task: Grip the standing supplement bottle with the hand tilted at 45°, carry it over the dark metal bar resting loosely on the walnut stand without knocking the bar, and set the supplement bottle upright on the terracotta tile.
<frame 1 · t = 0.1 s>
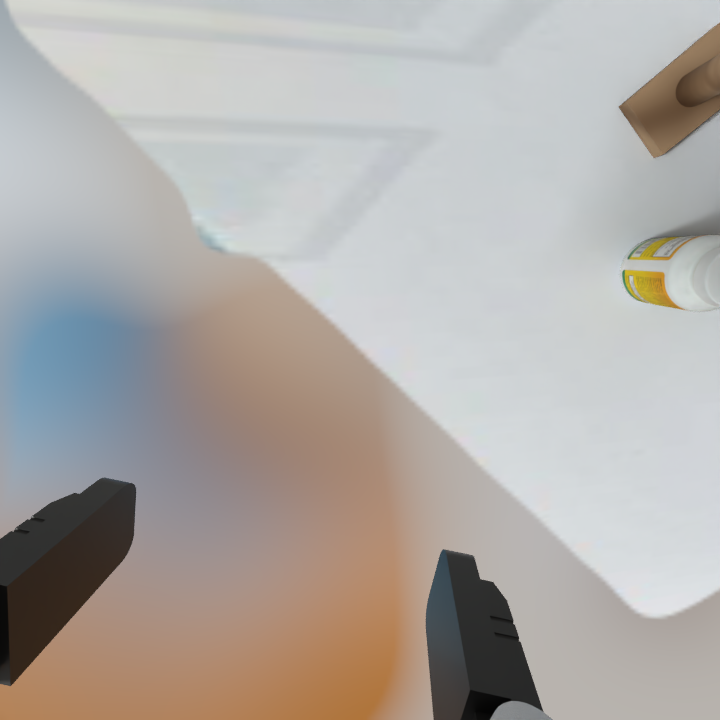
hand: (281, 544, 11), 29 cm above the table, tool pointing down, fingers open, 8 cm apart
supplement bottle: (648, 271, 36), on the table
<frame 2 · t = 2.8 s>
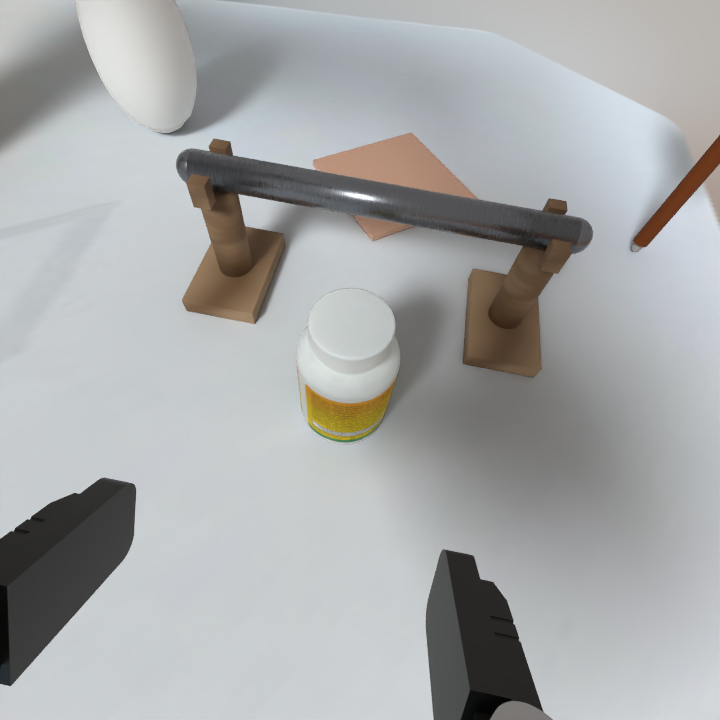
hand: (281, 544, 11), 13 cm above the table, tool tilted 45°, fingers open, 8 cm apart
hurdle stand: (367, 300, 32), on the table
white air blower bulb: (168, 129, 41), on the table
tile: (393, 184, 39), on the table
magnifying glass: (631, 252, 37), on the table
supplement bottle: (343, 408, 28), on the table
bar: (380, 201, 24), point 9 cm above the table, touching hurdle stand
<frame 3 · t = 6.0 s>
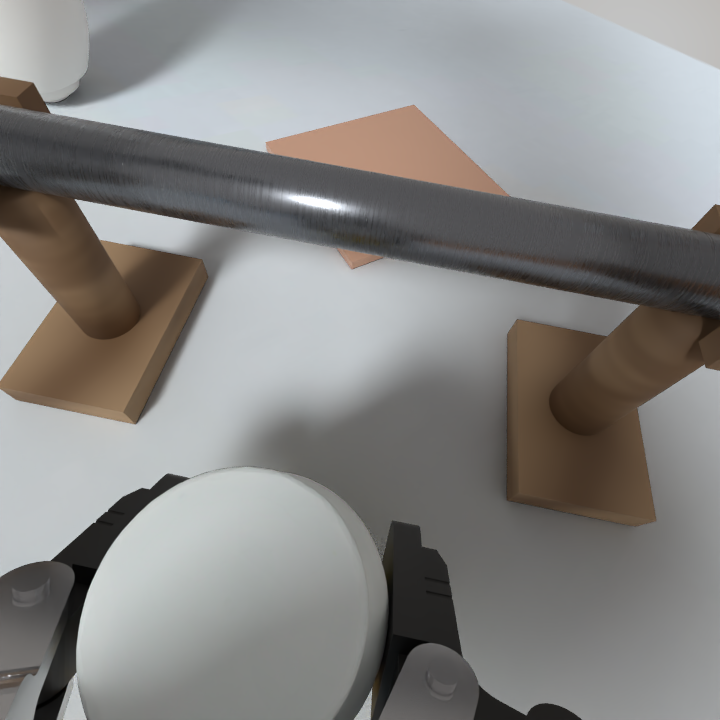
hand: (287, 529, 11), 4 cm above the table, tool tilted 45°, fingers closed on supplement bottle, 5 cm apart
hurdle stand: (339, 374, 19), on the table
white air blower bulb: (55, 97, 28), on the table
tile: (386, 178, 26), on the table
supplement bottle: (284, 605, 14), on the table, touching gripper
bar: (349, 210, 11), point 9 cm above the table, touching hurdle stand
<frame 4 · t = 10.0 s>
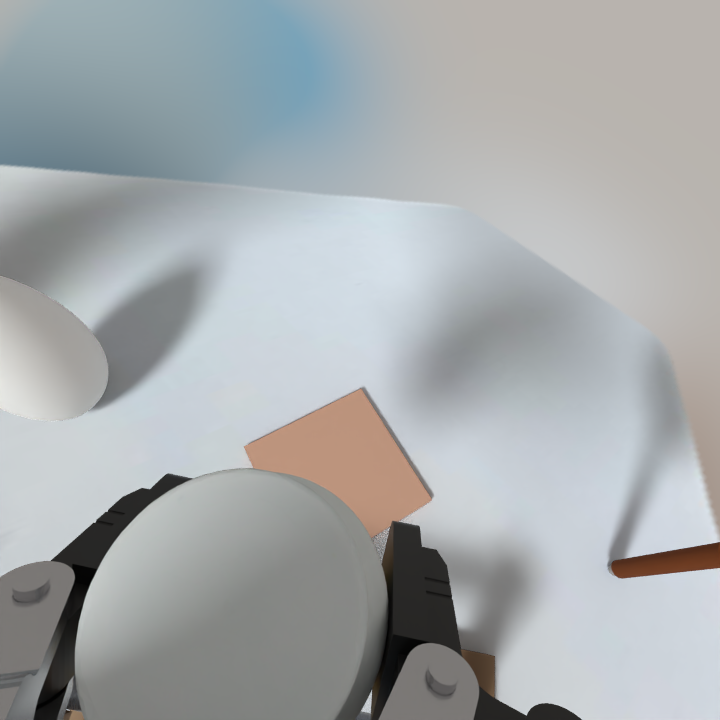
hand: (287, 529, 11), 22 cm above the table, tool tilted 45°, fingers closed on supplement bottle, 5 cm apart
hurdle stand: (292, 690, 27), on the table
white air blower bulb: (82, 398, 36), on the table
tile: (336, 474, 34), on the table
magnifying glass: (609, 570, 32), on the table
supplement bottle: (283, 606, 14), point 17 cm above the table, touching gripper
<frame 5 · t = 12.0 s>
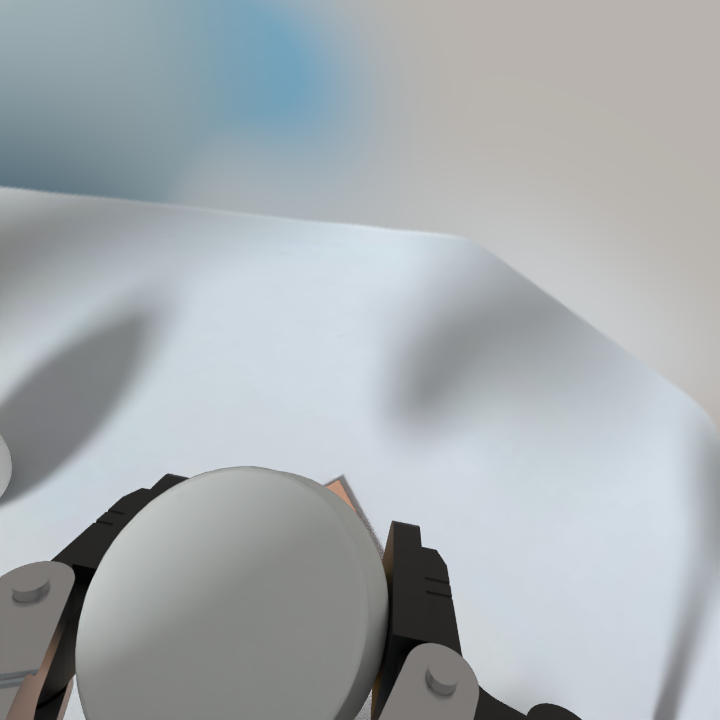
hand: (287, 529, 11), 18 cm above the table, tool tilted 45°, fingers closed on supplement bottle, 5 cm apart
supplement bottle: (284, 605, 14), point 14 cm above the table, touching gripper
when the fingers open (6 cm above the table, at t = 14.5 s): supplement bottle drops 1 cm, resting on tile.
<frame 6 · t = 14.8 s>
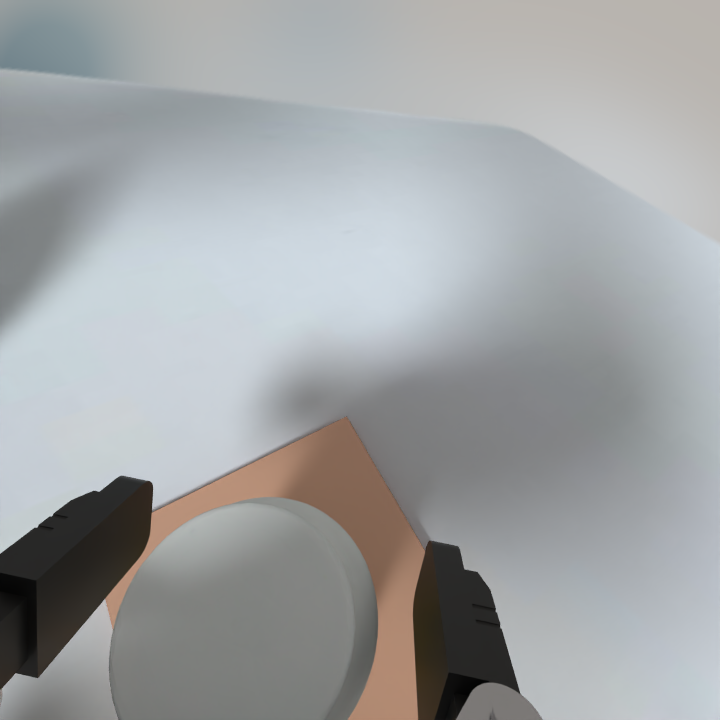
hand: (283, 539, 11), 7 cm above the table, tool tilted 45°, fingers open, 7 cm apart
tile: (287, 606, 16), on the table
supplement bottle: (287, 614, 15), resting on tile
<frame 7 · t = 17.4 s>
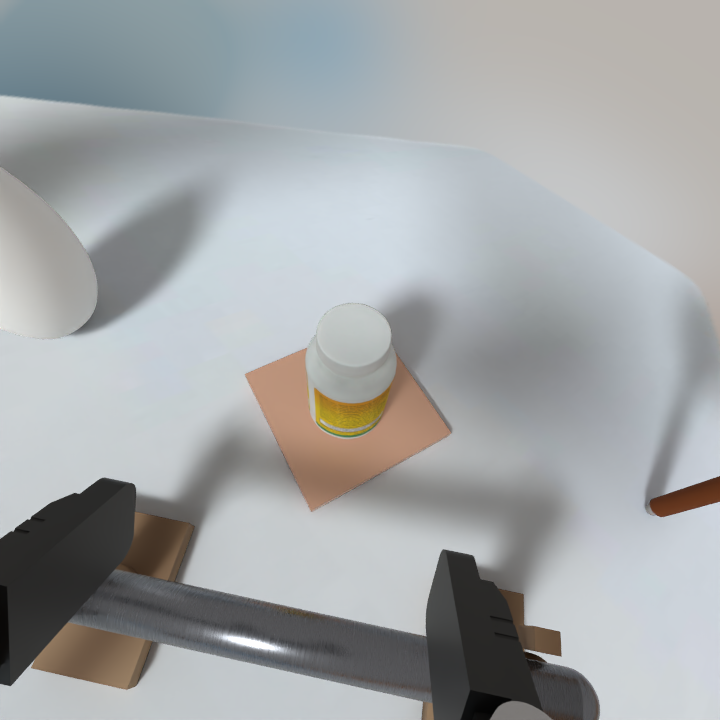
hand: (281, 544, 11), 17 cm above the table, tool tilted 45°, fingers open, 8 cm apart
hurdle stand: (296, 627, 24), on the table
white air blower bulb: (68, 322, 33), on the table
tile: (345, 405, 31), on the table
magnifying glass: (646, 511, 29), on the table
supplement bottle: (346, 407, 31), resting on tile
bar: (281, 636, 16), point 9 cm above the table, touching hurdle stand
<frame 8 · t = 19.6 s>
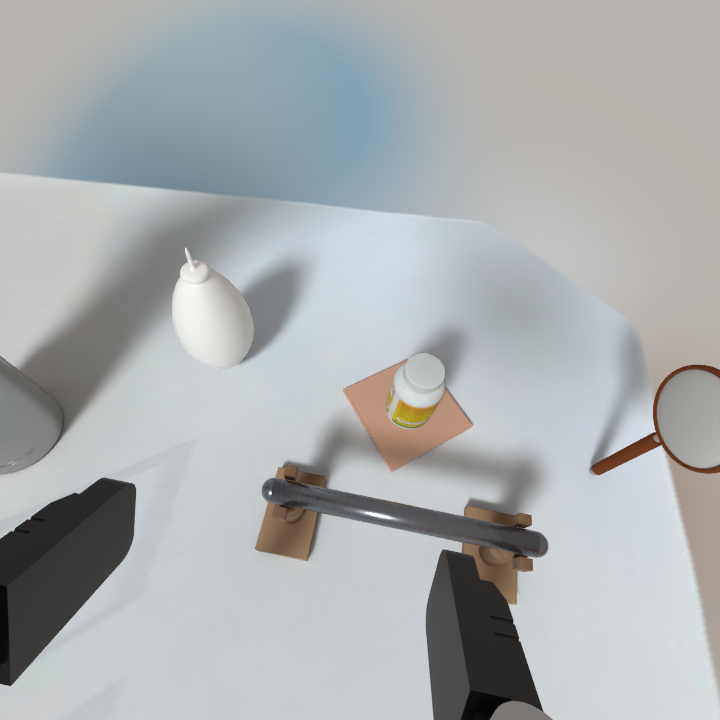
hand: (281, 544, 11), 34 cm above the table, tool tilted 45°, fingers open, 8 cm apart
hurdle stand: (389, 533, 43), on the table
white air blower bulb: (227, 356, 52), on the table
tile: (406, 409, 50), on the table
magnifying glass: (591, 472, 48), on the table
supplement bottle: (407, 410, 50), resting on tile
bar: (403, 516, 35), point 9 cm above the table, touching hurdle stand
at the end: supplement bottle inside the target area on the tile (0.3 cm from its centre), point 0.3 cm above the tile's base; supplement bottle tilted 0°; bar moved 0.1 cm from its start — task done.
